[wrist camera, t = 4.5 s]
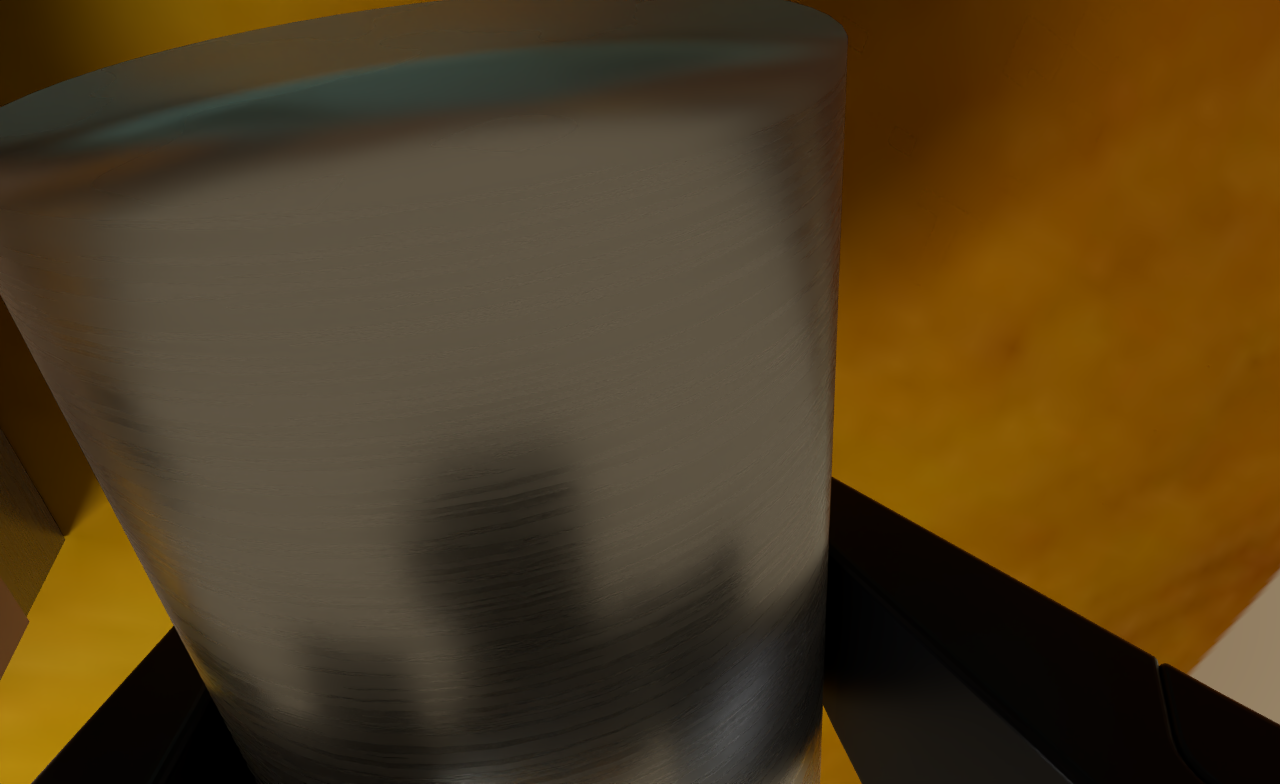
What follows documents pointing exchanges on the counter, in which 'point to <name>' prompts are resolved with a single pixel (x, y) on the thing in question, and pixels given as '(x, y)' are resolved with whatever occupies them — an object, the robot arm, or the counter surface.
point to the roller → (462, 376)
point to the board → (9, 626)
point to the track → (24, 531)
